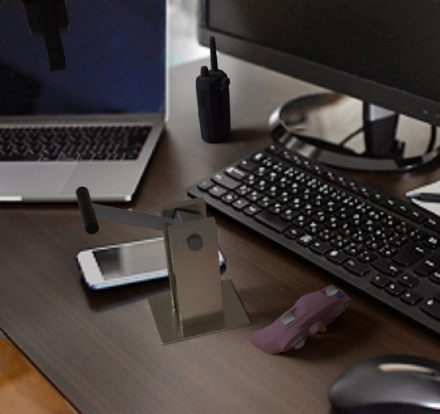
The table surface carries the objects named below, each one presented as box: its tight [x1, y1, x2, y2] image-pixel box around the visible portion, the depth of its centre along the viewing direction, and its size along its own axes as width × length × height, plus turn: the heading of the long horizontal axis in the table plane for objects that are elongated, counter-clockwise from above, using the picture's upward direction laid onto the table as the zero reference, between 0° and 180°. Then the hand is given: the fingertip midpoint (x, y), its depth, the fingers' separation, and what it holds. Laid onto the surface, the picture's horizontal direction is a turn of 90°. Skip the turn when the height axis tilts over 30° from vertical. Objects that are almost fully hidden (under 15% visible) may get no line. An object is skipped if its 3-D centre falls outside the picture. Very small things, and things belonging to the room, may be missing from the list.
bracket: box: [146, 196, 251, 346], centre depth 83 cm, size 9×8×13 cm
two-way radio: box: [195, 35, 232, 144], centre depth 119 cm, size 6×4×15 cm
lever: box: [75, 185, 204, 235], centre depth 79 cm, size 12×7×2 cm, turn 111°
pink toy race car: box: [250, 284, 353, 355], centre depth 82 cm, size 10×5×7 cm, turn 136°
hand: (57, 64), depth 80 cm, fingers closed
